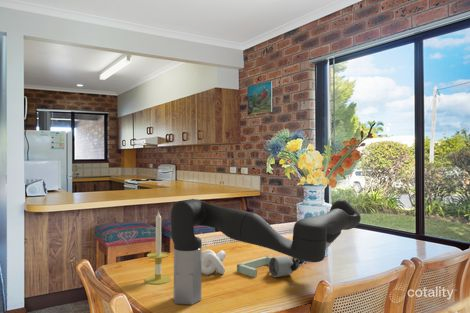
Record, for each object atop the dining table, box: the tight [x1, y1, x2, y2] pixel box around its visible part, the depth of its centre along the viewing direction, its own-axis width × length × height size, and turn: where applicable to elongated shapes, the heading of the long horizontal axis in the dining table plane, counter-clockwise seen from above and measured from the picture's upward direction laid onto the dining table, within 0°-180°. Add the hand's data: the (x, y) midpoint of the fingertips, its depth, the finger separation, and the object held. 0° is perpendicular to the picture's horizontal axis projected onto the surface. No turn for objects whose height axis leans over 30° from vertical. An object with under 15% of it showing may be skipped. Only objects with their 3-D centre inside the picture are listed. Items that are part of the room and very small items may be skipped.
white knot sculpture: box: [201, 249, 227, 276], centre depth 149 cm, size 11×12×9 cm
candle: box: [144, 210, 172, 286], centre depth 140 cm, size 10×10×27 cm
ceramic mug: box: [268, 256, 294, 278], centre depth 148 cm, size 11×8×8 cm
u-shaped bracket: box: [236, 255, 272, 278], centre depth 154 cm, size 10×19×3 cm, turn 133°
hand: (292, 269), depth 144 cm, fingers closed
